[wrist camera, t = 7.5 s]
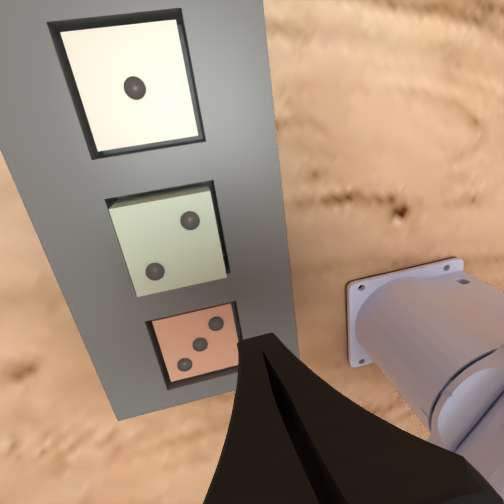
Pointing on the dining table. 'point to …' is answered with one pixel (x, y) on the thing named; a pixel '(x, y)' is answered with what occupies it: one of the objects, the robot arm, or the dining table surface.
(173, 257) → the tile two
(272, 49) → the dining table surface
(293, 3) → the dining table surface
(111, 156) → the tile tray
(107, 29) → the tile one
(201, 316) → the tile three
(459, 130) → the dining table surface
